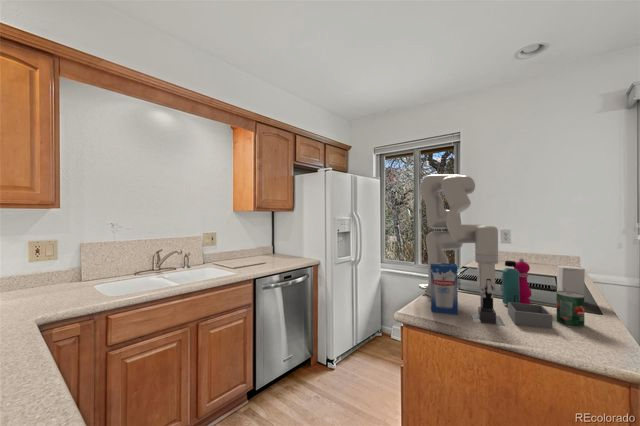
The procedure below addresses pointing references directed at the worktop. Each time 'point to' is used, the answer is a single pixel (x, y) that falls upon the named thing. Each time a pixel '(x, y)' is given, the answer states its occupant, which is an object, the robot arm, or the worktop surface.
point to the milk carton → (444, 288)
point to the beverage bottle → (510, 283)
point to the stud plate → (498, 321)
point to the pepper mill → (523, 281)
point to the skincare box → (570, 279)
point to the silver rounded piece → (486, 311)
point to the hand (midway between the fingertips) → (486, 305)
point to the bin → (529, 315)
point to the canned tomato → (570, 309)
